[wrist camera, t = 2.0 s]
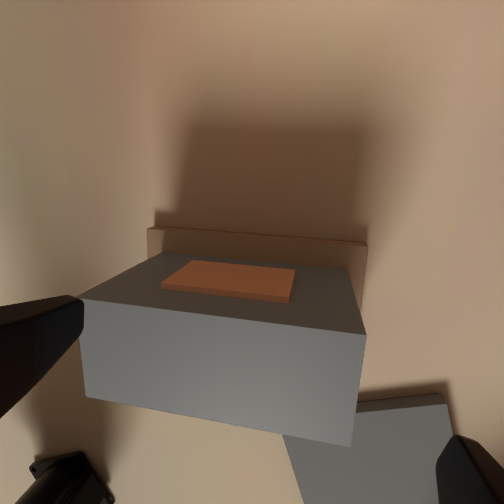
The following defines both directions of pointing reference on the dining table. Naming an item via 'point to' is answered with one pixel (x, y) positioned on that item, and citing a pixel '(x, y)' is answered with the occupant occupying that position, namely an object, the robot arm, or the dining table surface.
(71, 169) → the dining table surface
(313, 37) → the dining table surface
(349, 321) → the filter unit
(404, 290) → the dining table surface
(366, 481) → the mat
